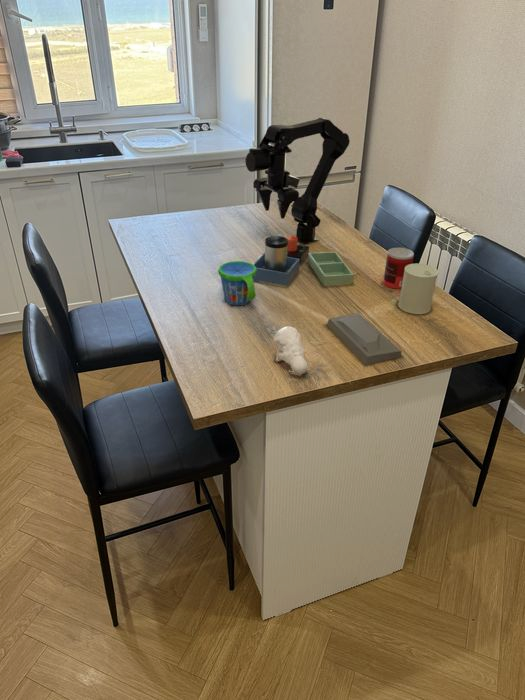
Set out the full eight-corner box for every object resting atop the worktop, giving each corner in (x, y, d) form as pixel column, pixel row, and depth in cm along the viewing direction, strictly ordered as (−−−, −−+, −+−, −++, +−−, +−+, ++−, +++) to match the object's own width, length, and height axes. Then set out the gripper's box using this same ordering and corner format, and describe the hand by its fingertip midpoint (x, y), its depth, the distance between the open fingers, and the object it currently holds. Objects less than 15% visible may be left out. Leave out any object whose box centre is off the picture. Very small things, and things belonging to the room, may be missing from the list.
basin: (263, 265, 180) (263, 252, 177) (299, 272, 176) (299, 258, 174) (249, 280, 170) (249, 267, 167) (287, 287, 166) (287, 273, 164)
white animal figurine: (297, 321, 132) (318, 350, 123) (294, 349, 137) (313, 379, 128) (272, 325, 130) (292, 355, 121) (270, 353, 135) (288, 384, 126)
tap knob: (283, 250, 183) (284, 238, 181) (287, 246, 186) (287, 234, 184) (294, 252, 182) (295, 240, 179) (298, 248, 185) (299, 235, 183)
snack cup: (210, 292, 163) (209, 260, 157) (243, 286, 167) (243, 255, 161) (231, 316, 151) (231, 282, 145) (265, 308, 155) (266, 275, 149)
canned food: (410, 283, 171) (416, 250, 165) (404, 293, 165) (411, 259, 159) (386, 278, 174) (391, 245, 168) (379, 288, 168) (385, 254, 162)
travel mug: (283, 269, 176) (285, 235, 170) (288, 278, 170) (290, 243, 164) (262, 270, 175) (263, 236, 169) (266, 279, 169) (267, 244, 163)
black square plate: (281, 250, 191) (281, 241, 189) (308, 254, 188) (309, 246, 186) (271, 260, 183) (272, 251, 181) (300, 265, 180) (300, 256, 179)
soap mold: (365, 364, 132) (367, 352, 130) (326, 325, 148) (327, 314, 146) (401, 356, 136) (403, 344, 134) (359, 319, 151) (361, 307, 149)
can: (412, 317, 153) (420, 278, 146) (391, 303, 159) (397, 265, 153) (437, 310, 156) (446, 271, 150) (416, 296, 163) (423, 259, 157)
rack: (307, 263, 182) (308, 252, 180) (334, 261, 184) (335, 251, 182) (323, 287, 167) (324, 276, 165) (352, 285, 169) (354, 274, 167)
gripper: (313, 171, 175) (310, 218, 184) (280, 158, 188) (278, 203, 196) (285, 175, 170) (283, 224, 178) (252, 162, 183) (252, 208, 191)
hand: (274, 214), depth 186 cm, fingers open, 9 cm apart
